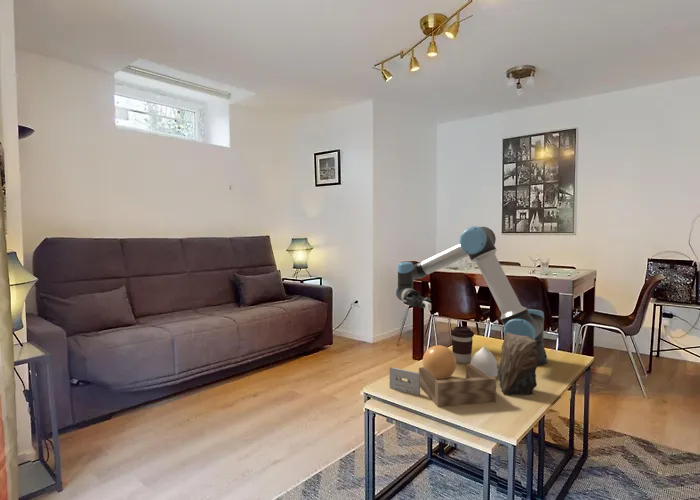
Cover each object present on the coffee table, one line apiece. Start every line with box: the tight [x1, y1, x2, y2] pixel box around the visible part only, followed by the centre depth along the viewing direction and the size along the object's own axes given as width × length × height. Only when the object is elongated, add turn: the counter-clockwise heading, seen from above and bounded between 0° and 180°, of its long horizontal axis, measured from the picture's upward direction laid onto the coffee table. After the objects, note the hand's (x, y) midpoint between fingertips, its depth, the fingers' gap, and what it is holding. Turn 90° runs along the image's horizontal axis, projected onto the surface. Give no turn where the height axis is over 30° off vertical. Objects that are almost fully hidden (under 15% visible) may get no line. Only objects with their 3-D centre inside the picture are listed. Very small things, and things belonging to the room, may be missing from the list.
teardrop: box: [470, 344, 499, 378], centre depth 170 cm, size 11×11×12 cm
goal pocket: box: [418, 363, 497, 408], centre depth 150 cm, size 21×18×8 cm
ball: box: [422, 344, 457, 380], centre depth 164 cm, size 13×13×13 cm
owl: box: [497, 332, 539, 396], centre depth 153 cm, size 13×13×20 cm
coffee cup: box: [450, 325, 475, 364], centre depth 185 cm, size 10×10×15 cm
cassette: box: [389, 367, 421, 395], centre depth 152 cm, size 12×2×8 cm, turn 57°
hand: (429, 307), depth 174 cm, fingers closed
